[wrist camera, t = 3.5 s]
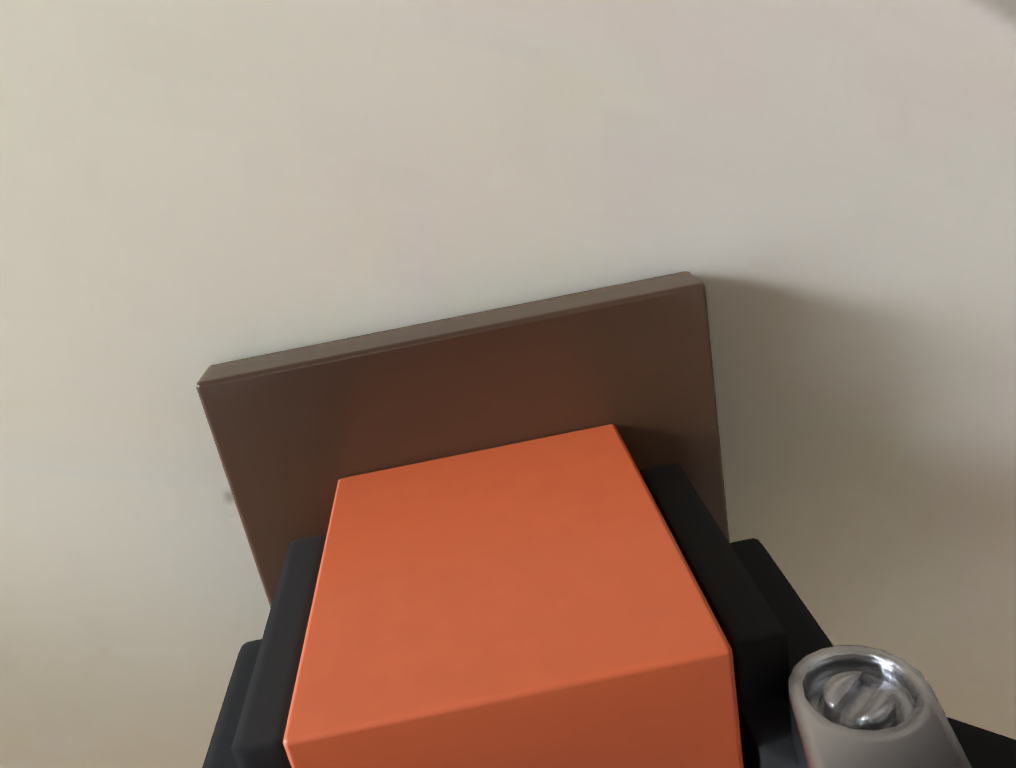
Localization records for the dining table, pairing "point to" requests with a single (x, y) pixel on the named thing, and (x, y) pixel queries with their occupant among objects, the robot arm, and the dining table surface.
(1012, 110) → the dining table surface
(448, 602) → the matte orange cube
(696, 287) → the wooden cubes on board
